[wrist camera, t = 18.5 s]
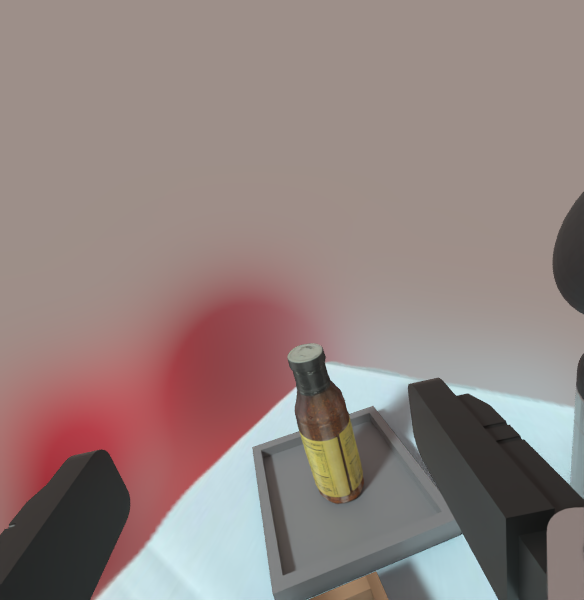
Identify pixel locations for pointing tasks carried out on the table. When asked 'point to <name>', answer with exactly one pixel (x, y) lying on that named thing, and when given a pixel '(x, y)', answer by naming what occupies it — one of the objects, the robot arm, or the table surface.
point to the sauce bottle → (325, 427)
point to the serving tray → (345, 512)
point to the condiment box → (357, 590)
